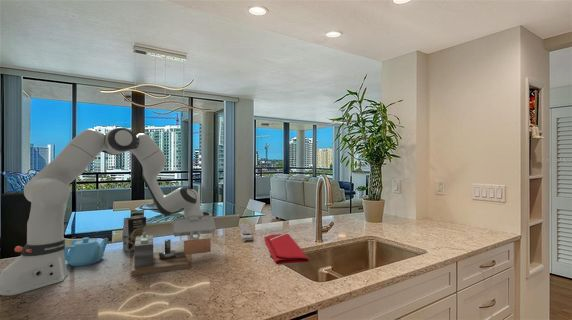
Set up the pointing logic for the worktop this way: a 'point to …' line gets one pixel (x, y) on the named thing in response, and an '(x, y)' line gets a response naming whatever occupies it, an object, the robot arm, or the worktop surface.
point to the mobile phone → (245, 232)
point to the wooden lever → (187, 248)
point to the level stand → (153, 258)
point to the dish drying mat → (284, 249)
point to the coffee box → (133, 231)
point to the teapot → (85, 252)
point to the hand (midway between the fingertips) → (196, 241)
